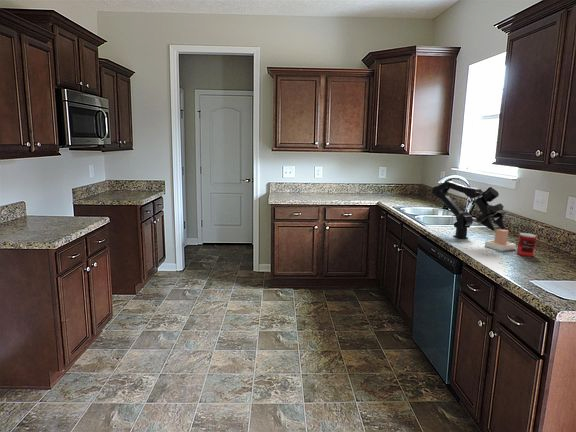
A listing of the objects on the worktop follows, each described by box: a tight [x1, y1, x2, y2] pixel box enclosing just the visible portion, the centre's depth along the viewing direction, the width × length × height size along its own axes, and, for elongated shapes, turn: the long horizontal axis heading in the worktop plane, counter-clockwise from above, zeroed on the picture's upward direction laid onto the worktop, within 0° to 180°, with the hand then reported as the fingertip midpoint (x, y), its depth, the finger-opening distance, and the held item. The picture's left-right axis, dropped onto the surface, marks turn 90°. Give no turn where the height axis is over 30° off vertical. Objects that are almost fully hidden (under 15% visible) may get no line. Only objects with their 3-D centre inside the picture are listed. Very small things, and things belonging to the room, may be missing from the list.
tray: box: [484, 239, 517, 252], centre depth 234 cm, size 11×11×3 cm
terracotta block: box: [493, 228, 509, 245], centre depth 233 cm, size 4×4×10 cm
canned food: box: [516, 232, 537, 258], centre depth 221 cm, size 8×8×11 cm
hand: (498, 229), depth 234 cm, fingers open, 9 cm apart
